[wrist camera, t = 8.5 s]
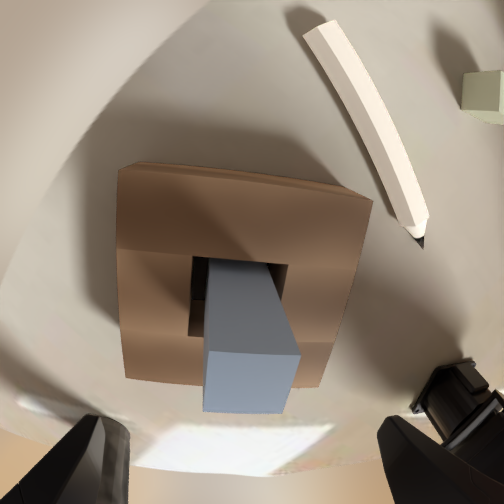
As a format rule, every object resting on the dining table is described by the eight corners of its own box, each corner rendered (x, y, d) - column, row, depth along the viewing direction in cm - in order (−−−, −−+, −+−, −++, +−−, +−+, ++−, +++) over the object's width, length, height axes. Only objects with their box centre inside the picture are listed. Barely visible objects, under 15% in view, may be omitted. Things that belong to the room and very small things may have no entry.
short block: (485, 122, 18) (522, 127, 14) (460, 109, 17) (498, 111, 14) (487, 88, 17) (524, 88, 13) (463, 73, 16) (500, 70, 12)
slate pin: (252, 292, 20) (281, 413, 11) (205, 288, 20) (202, 411, 11) (260, 248, 19) (301, 355, 10) (210, 243, 19) (208, 350, 9)
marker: (409, 243, 22) (307, 36, 16) (435, 234, 20) (336, 22, 14) (412, 264, 20) (299, 34, 14) (440, 256, 18) (333, 18, 12)
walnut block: (303, 350, 22) (318, 387, 19) (137, 339, 21) (125, 377, 17) (343, 186, 18) (373, 200, 15) (138, 161, 17) (118, 170, 13)
